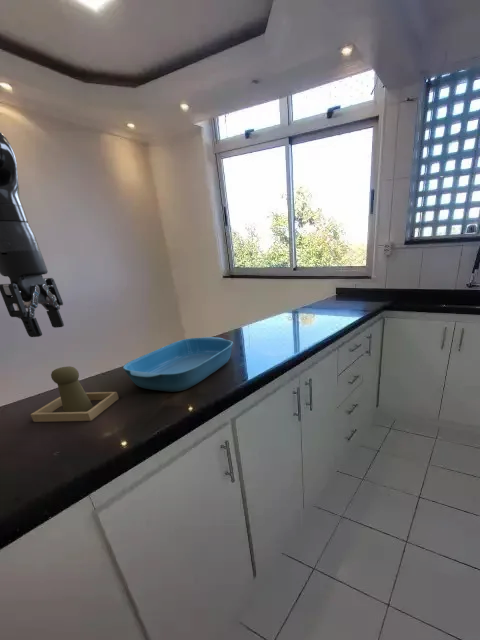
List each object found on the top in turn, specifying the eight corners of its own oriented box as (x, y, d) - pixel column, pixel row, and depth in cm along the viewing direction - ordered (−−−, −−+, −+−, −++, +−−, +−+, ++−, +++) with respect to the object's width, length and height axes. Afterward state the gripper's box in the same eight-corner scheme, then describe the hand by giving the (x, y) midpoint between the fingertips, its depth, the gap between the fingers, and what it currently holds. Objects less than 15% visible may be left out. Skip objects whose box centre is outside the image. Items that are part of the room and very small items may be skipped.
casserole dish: (180, 402, 79) (174, 376, 76) (112, 394, 86) (104, 370, 82) (245, 357, 111) (243, 337, 107) (192, 353, 117) (188, 335, 114)
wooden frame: (35, 425, 71) (30, 414, 70) (69, 402, 82) (65, 392, 81) (92, 423, 71) (88, 413, 70) (119, 401, 81) (116, 391, 80)
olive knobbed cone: (91, 402, 80) (76, 362, 75) (95, 410, 76) (79, 368, 71) (63, 410, 77) (45, 368, 72) (65, 418, 72) (47, 375, 68)
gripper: (18, 249, 66) (48, 325, 73) (-36, 249, 54) (6, 341, 61) (56, 248, 67) (82, 323, 74) (12, 248, 54) (47, 338, 62)
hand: (48, 331), depth 68 cm, fingers open, 8 cm apart
